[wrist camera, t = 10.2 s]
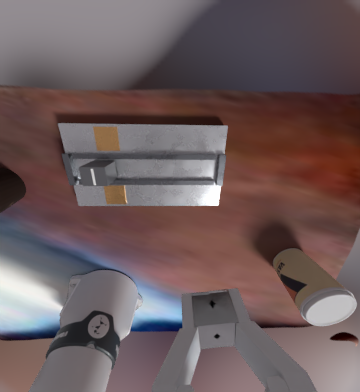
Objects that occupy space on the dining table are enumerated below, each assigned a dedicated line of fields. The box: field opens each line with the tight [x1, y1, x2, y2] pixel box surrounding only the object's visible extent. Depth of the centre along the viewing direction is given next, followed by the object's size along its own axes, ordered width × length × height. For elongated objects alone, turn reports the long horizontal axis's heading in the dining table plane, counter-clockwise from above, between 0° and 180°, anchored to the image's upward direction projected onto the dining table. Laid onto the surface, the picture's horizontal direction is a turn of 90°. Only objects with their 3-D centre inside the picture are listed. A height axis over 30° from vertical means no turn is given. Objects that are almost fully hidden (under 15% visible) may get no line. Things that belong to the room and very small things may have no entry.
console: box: [58, 123, 228, 206], centre depth 29 cm, size 26×14×3 cm, turn 89°
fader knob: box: [79, 161, 117, 186], centre depth 26 cm, size 4×3×4 cm
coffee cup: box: [273, 248, 357, 326], centre depth 35 cm, size 9×9×12 cm
